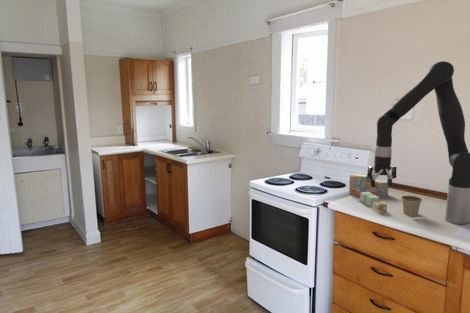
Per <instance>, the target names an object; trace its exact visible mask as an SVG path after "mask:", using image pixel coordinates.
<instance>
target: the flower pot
mask: <svg viewBox="0 0 470 313" xmlns="http://www.w3.org/2000/svg"><path fill="white" fill-rule="evenodd" d="M400 198H401V201H402V209H403V210H402V211H403V214H404V215H406V216H411V217H417V216H418V215H419V211H420V206H421V203H422V202H423V198H421V197H419V196H415V195H403V196H401V197H400Z"/></svg>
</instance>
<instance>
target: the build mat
mask: <svg viewBox="0 0 470 313" xmlns="http://www.w3.org/2000/svg"><path fill="white" fill-rule="evenodd" d="M357 202H359V203H360V204H362V205H363V206H365V207H366V208H368V209H369V208H371V209H372V207H369V206H368V205H366V203H363V202H361V201H360V200H357Z"/></svg>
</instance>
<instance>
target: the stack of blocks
mask: <svg viewBox="0 0 470 313" xmlns="http://www.w3.org/2000/svg"><path fill="white" fill-rule="evenodd" d="M348 182H349V190H348V192H349V195H350V196H351V195H353V196H356V195H357V196H360V192H370V193H372V194H373V195H376V196H378V197H379V198H381V197H382V198H388V196H389V187H388V186H387V180H386V179H385V180H384V179H375V187H372V186H371V185H370V184H371V179H369V178H367V174H364V173H363V174H361V173H358V174H355V173H349V181H348Z"/></svg>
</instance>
